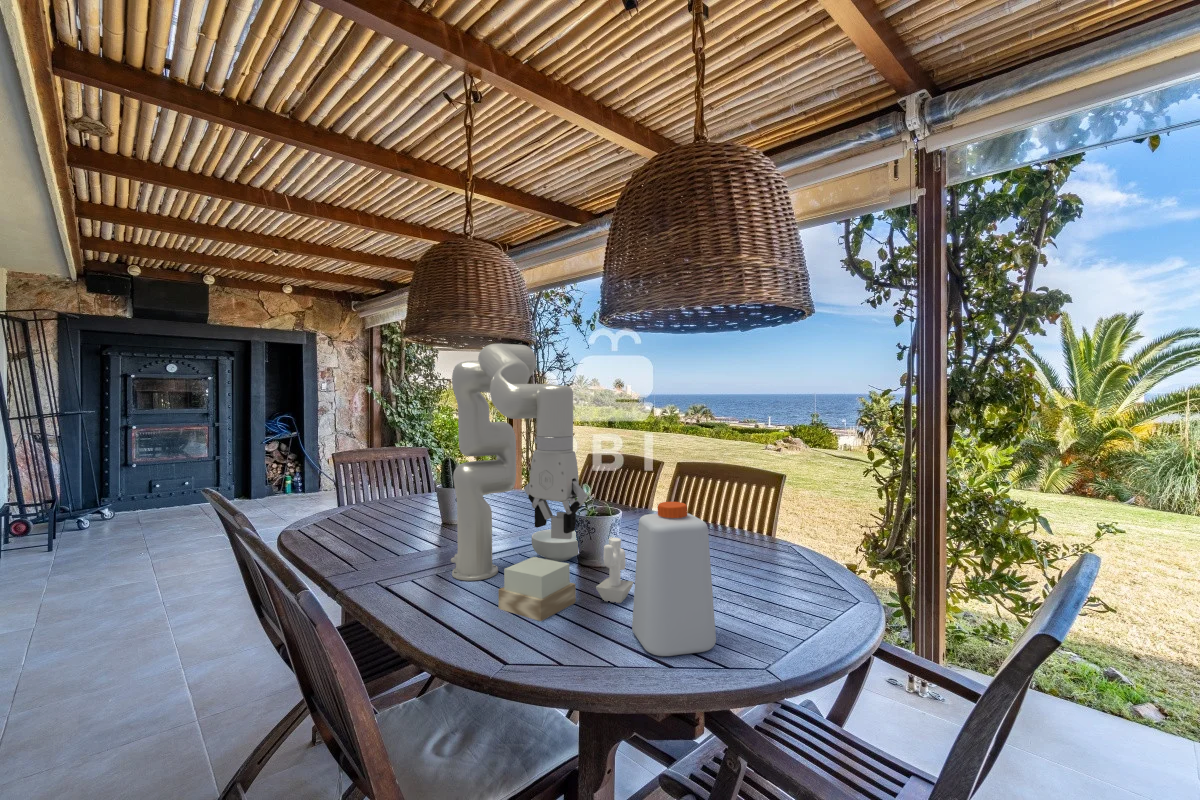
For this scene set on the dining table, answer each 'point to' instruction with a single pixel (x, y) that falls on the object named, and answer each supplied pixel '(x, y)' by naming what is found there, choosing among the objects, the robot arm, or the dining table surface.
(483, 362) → the robot arm
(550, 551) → the cereal bowl
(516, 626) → the dining table surface
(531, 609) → the birch base block
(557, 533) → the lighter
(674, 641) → the plastic bottle
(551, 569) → the sage top block
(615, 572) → the figurine
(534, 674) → the dining table surface
